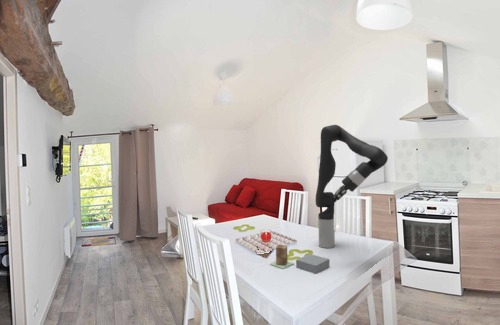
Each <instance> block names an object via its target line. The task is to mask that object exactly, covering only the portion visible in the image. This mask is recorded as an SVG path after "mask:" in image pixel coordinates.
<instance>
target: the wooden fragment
mask: <svg viewBox="0 0 500 325" xmlns="http://www.w3.org/2000/svg"><path fill="white" fill-rule="evenodd" d="M272 252H273V251H271V252H269V253H264V254H257V253H256V255H257V256H259V257H262V258H263V259H268V258H269V256H270V255H271V253H272Z"/></svg>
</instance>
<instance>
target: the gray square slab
mask: <svg viewBox="0 0 500 325" xmlns="http://www.w3.org/2000/svg"><path fill="white" fill-rule="evenodd" d="M330 265H331V264H330V258H326V257H324V256H323V257H322V256H319V255H315V254H312V253H309V254H307V255H304V256H302V257H299V258H296V260H295V266H296V268H298V269H300V270H303V271H306V272H309V273H312V274H314V275H315V274H318V273H320V272H322V271H324V270H326V269H328V268H330Z"/></svg>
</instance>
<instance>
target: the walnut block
mask: <svg viewBox="0 0 500 325" xmlns="http://www.w3.org/2000/svg"><path fill="white" fill-rule="evenodd" d="M275 261H276V265H285V266H286V264H287V262H289V261H288V245H285V244H277V246H276V247H275Z"/></svg>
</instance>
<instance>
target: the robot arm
mask: <svg viewBox="0 0 500 325" xmlns="http://www.w3.org/2000/svg"><path fill="white" fill-rule="evenodd" d="M337 141H340V142H342V143H345V145H347V147H348V148H349V149H350V151H352V152H353V153H355V154H356V155H358V156H360V157H364V158H367V159H368V161H367V162H364V161H363V162H361V163H360V164H358V166H356V167H355V168H354V169H353V170H352V171H350V172H349V174H347V175H346V176H345V177H344V178H343V179H342V180H341V183H342V184H343V185H342V186H340V187H339V188H338V189H337V190H336V191H335V193H333V192H331V191H325V190H326V187H327V186H328V184H329V183H330V182H331V180H332V179H333V178H334V176H335V174H336V167H337V166H336V165H337V164H336V161H335V157H334V156H333V153H332V144H333V142H337ZM387 162H388V155H387V154H386V153H385V151H384V150H383V149H382V148H380V147H377V146H376V145H373V144H369V143H368V142H365V141H363V140H361V139H360V138H357V137H356V136H354V135H352V134H351V133H350V132H348V131H347V130H345V129H344V128H343V127H341V126H340V125H338V124H331V125H326V126H324V127H322V129H321V130H320V159H319V165H318V166H319V168H318V177H317V178H318V179H317V180H318V182H317V187H316V193H315V206H316V207H318V208H326V209H324V210H323V211H321V212H319V213H318V215H317V217H318V246H319V247H320V248H323V249H331V248H335V246H336V245H335V243H336V242H335V240H336V236H335V235H336V233H335V203H336V202H337V201H339V200H341V198H343V197H344V196H345V195H346V194H348V190H349V192H353V193H354V191H355V190H356V189H358V187H359V186H360V185H361V184H362V183H364V182H365V181H366V179H367V178H368V177H369V176H370V175H371V174H373V173H374V172H376V171H379V169H382V168H383V167H384V166H385V165H386V164H387Z"/></svg>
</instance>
